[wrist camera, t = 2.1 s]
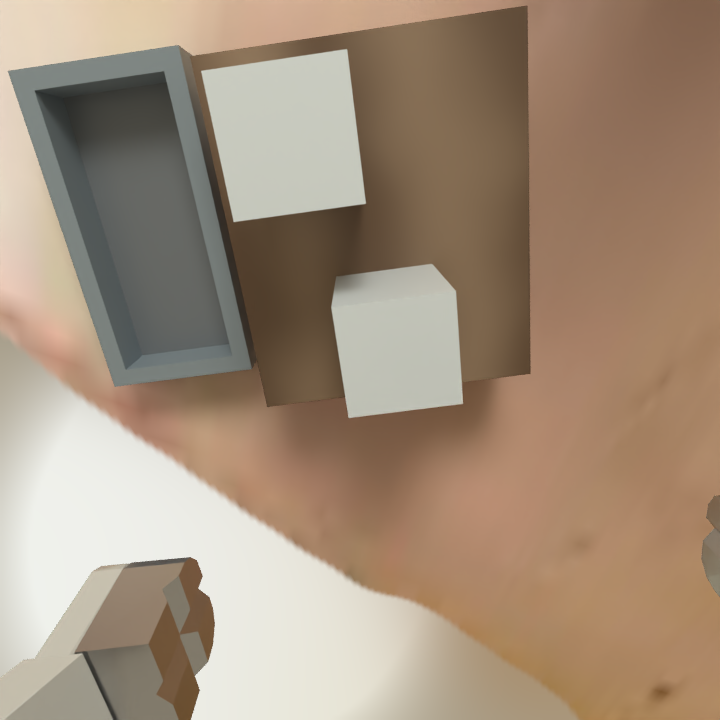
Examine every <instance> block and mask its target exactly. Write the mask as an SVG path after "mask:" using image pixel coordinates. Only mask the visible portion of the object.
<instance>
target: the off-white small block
mask: <svg viewBox="0 0 720 720" xmlns="http://www.w3.org/2000/svg"><path fill="white" fill-rule="evenodd" d="M331 309H332V315H333V322H334V328H335V334H336V341H337V347H338V354H339V360H340V366H341V373H342V379H343V385H344V392H345V398H346V405H347V411H348V417H349V418H353V417H361V416H369V415H377V414H385V413H393V412H401V411H409V410H417V409H425V408H433V407H441V406H450V405H458V404H463V395H462V379H461V363H460V347H459V331H458V315H457V299H456V291H455V289H454V288H453V287H452V286H451V285H450V284H449V283H448V281H447V280H446V279H445V278H444V277H443V276H442V274H441V273H440V272H439V271H438V270H437V269H436V268H435V266H434V265H433V264H427V265H420V266H412V267H405V268H397V269H390V270H382V271H375V272H367V273H360V274H352V275H345V276H337V277H336V281H335V287H334V293H333V300H332V306H331Z"/></svg>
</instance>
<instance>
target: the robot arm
mask: <svg viewBox="0 0 720 720" xmlns="http://www.w3.org/2000/svg"><path fill="white" fill-rule="evenodd" d="M706 518H707V519H708V520H709V522H710V523H711V524H712V525H713V527H714V529H713V530H712V531H711V533H710V534H709V535H708V536H707V537H706V538H705V539H704V540H703V546H702V558H701V559H702V562H703V566H704V569H705V573H706V576H707V578H708V580H709V582H710V583H711V585H712V587H713V589H714V590H715V592H716V593H717V594H718V595H719V597H720V495H718V496H714V497H713V499H712V500H711V501H710V503H709V504H708V510H707V516H706ZM201 579H202V573H201V570H200V568H199V565H198V562H197V560H195V559H193V558H191V557H189V558H178V559H167V560H156V561H145V562H134V563H130V564H120V565H108V566H101V567H99V568H98V569H96V570H94V571H93V572H92V573H91V574H90V576H89V577H88V579H87V580H86V582H85V583H84V585H83V586H82V588H81V589H80V591H79V592H78V594H77V595H76V597H75V598H74V600H73V601H72V603H71V604H70V606H69V608H68V609H67V610H66V612H65V613H64V615H63V616H62V618H61V620H60V621H59V622H58V624H57V625H56V627H55V628H54V630H53V632H52V633H51V634H50V636H49V638H48V639H47V641H46V642H45V644H44V645H43V647H42V648H41V650H40V652H39V653H38V654H37V656H36V657H35V659H27V660H23V661H22V662H20V663H19V664H18V665H17V666H15V667H14V668H13V669H11V670H10V671H9V672H7V673H6V674H5V675H3V676H2V677H1V678H0V720H191V717H192V713H193V710H194V707H195V704H196V700H197V697H198V694H199V691H200V690H199V687H198V684H197V681H196V678H195V675H196V674H197V673H198V672H199V671H200V670H201V669H202V668H203V666H205V664H206V663H207V662H208V660H209V657H210V653H211V649H212V646H213V637H214V626H215V622H214V613H213V607H212V604H211V601H210V598H209V597H208V596H207V595H206V594H204V593H203V592H202V591H201V590H199V589H198V587H199V584H200V582H201Z"/></svg>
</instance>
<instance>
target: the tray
mask: <svg viewBox="0 0 720 720" xmlns="http://www.w3.org/2000/svg"><path fill="white" fill-rule="evenodd" d="M190 56H192V55H191V54H190V53H188V52H187V51H185V50H184V49H183V48H181V47H180V46H179V45H177V46H170V47H163V48H157V49H150V50H144V51H137V52H130V53H124V54H117V55H111V56H104V57H97V58H91V59H84V60H78V61H71V62H64V63H58V64H51V65H45V66H38V67H31V68H25V69H18V70H12V71H8V73H9V76H10V79H11V82H12V85H13V88H14V91H15V93H16V96H17V99H18V102H19V105H20V108H21V111H22V114H23V117H24V120H25V123H26V126H27V129H28V132H29V135H30V138H31V141H32V144H33V147H34V150H35V152H36V155H37V158H38V161H39V164H40V167H41V170H42V173H43V176H44V179H45V182H46V185H47V188H48V191H49V194H50V197H51V200H52V203H53V206H54V209H55V211H56V214H57V217H58V220H59V223H60V226H61V229H62V232H63V235H64V238H65V241H66V244H67V247H68V250H69V253H70V256H71V259H72V262H73V265H74V268H75V270H76V273H77V276H78V279H79V282H80V285H81V288H82V291H83V294H84V297H85V300H86V303H87V306H88V309H89V312H90V315H91V318H92V321H93V324H94V327H95V329H96V332H97V335H98V338H99V341H100V344H101V347H102V350H103V353H104V356H105V359H106V362H107V365H108V368H109V371H110V374H111V377H112V380H113V383H114V386H115V387H116V386H124V385H132V384H139V383H147V382H155V381H163V380H171V379H178V378H186V377H194V376H202V375H209V374H217V373H225V372H233V371H241V370H248V369H252V368H253V366H254V364H255V362H256V360H257V358H256V353H255V349H254V344H253V340H252V335H251V331H250V326H249V321H248V317H247V312H246V308H245V303H244V299H243V294H242V290H241V285H240V281H239V276H238V272H237V267H236V263H235V258H234V254H233V249H232V245H231V240H230V236H229V231H228V227H227V222H226V218H225V213H224V208H223V204H222V199H221V195H220V190H219V186H218V181H217V177H216V172H215V168H214V163H213V159H212V154H211V150H210V145H209V141H208V136H207V132H206V127H205V123H204V118H203V114H202V109H201V104H200V100H199V95H198V91H197V86H196V82H195V77H194V73H193V68H192V64H191V59H190Z"/></svg>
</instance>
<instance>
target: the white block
mask: <svg viewBox="0 0 720 720" xmlns="http://www.w3.org/2000/svg"><path fill="white" fill-rule="evenodd" d="M201 73H202V78H203V82H204V87H205V91H206V96H207V101H208V105H209V110H210V115H211V119H212V124H213V128H214V133H215V138H216V142H217V147H218V152H219V156H220V161H221V165H222V170H223V175H224V179H225V184H226V189H227V193H228V198H229V202H230V207H231V212H232V216H233V221H234V222H238V221H245V220H252V219H260V218H267V217H274V216H281V215H288V214H296V213H303V212H310V211H317V210H324V209H332V208H339V207H346V206H353V205H361V204H366V200H365V192H364V184H363V176H362V167H361V159H360V151H359V143H358V134H357V126H356V118H355V110H354V102H353V93H352V85H351V77H350V69H349V60H348V52H347V49H344V50H337V51H331V52H324V53H317V54H311V55H304V56H297V57H291V58H284V59H277V60H270V61H264V62H257V63H250V64H244V65H237V66H230V67H224V68H217V69H210V70H204V71H201Z"/></svg>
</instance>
